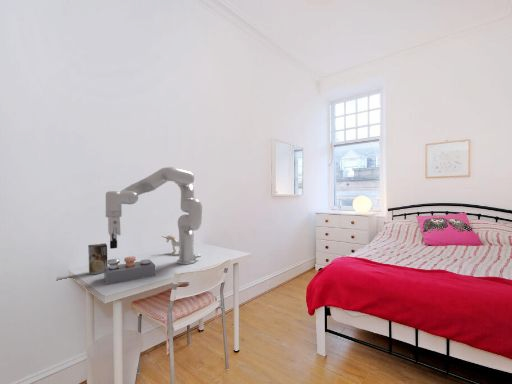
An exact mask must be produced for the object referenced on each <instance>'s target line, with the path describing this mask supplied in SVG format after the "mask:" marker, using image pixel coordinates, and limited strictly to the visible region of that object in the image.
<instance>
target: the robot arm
mask: <svg viewBox="0 0 512 384" xmlns="http://www.w3.org/2000/svg"><path fill="white" fill-rule="evenodd" d="M167 182H174V184H176V185H177V186H178V187H179V191H180V210H181V211H182V212H183V213H188V214H182V215H180V216H179V217H178V219H177V227H178V241H179V246H178V259H177V260H176V263H177V264H178V265H191V264H194V263H196V262H197V258H201V257H202V255H201V254H196V253H195V234H194V231H197V230H199V229H200V228H201V226H202V218H203V216H202V214H203V206H202V205H203V204H202V203H201V201H200V200H199V199H197V198H195V190H194V185H193V183H194V182H195V175H194V174H193V173H192V172H191V171H188V170H184V169H180V168H177V167H172V166H168V167H162V168H160V169H158V170H157V171H155V172H153V173H151V174H150V175H148V176H147V177H145V178H143V179H140V180H139V181H136V182H135V183H132V184H130V185H128V186H127V187H125V188H123V189H122V190H120V191H117V190H109V191H106V192H105V218H107V225H108V226H107V228H108V229H107V231H108V235H109V236H110V237H109V238H110V240H109V242H110V243H109V249H110V250H111V249H118V236H121V217H122V216H123V215H122V212H123V211H122V210H123V209H122V206H123V205H134V204H136V203H137V202H138V200H139V196H140V195H142V194H145V193H149V192H153V191H155V190H156V189H158V188H159V187H161V186H163V185H164V184H166V183H167Z"/></svg>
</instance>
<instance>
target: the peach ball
mask: <svg viewBox="0 0 512 384" xmlns="http://www.w3.org/2000/svg"><path fill="white" fill-rule="evenodd" d="M136 260H137V259H136V256H126V257H124V262H125V264H126V268H128V267H134V262H135V261H136Z"/></svg>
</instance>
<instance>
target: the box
mask: <svg viewBox="0 0 512 384" xmlns="http://www.w3.org/2000/svg"><path fill="white" fill-rule="evenodd" d="M154 276H156V264H155V263H154V262H153V261H152V260H151V263H150V264H147V265H141V264H140V261H136V262H135V261H134V267H128V268H126V263H122V264H120V263H119V264H118V269H116V270H110V265H108V266H107V267H104V275H103V277H104V281H105V283H106V285H112V284H119V283H123V282H128V281H134V280H139V279H143V278H145V279H146V278H150V277H154Z"/></svg>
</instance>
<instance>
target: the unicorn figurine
mask: <svg viewBox="0 0 512 384" xmlns="http://www.w3.org/2000/svg"><path fill="white" fill-rule="evenodd" d="M161 237H162V238H165V239H166V243H169V241H171V245H172V250H173V251H172V254H175V253H176V252H177V251H176V249H175V247H178V248H179V240H177V239H176V237H174V236H173V235H171V234H170V235H166V236H163V235H162V236H161Z"/></svg>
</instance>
